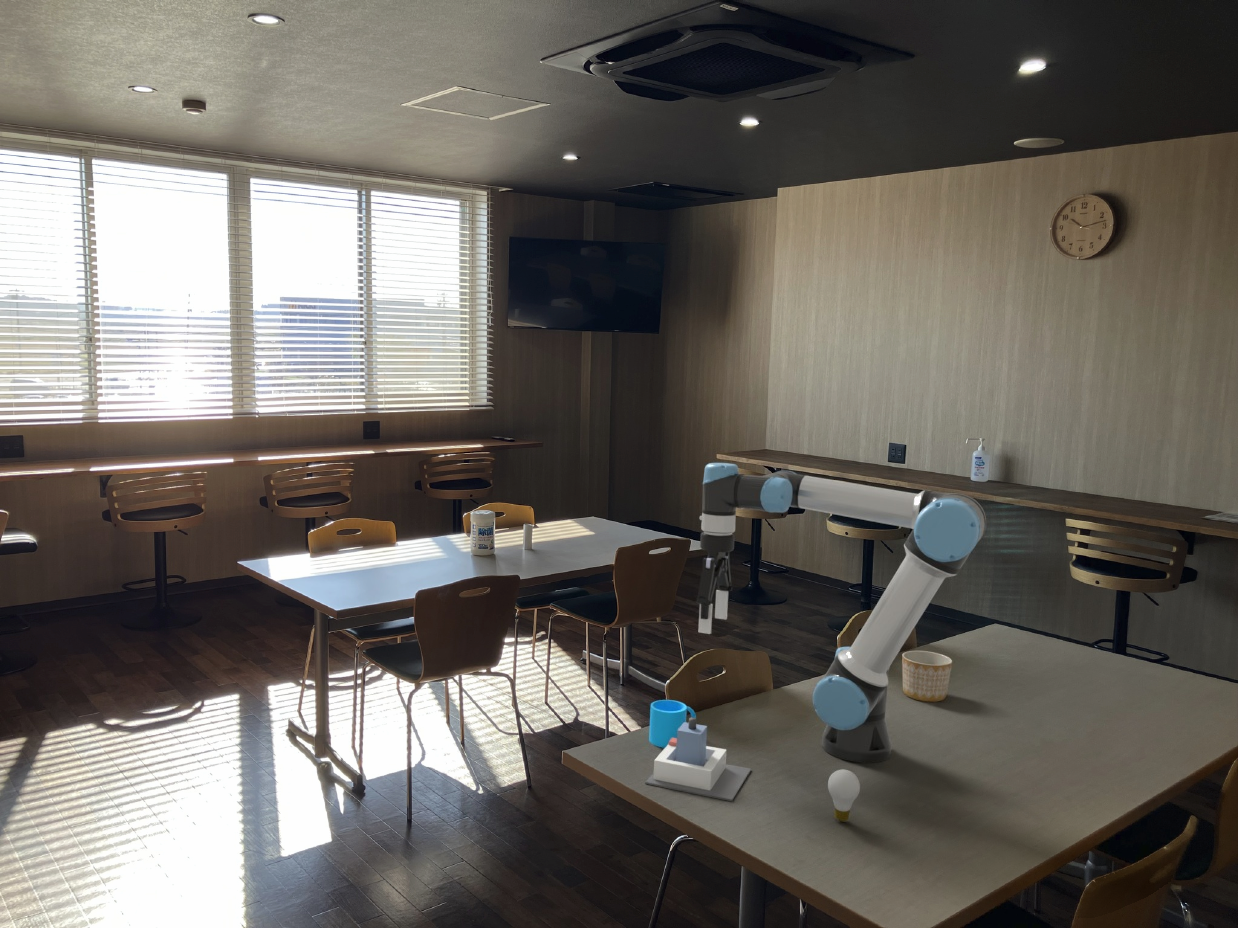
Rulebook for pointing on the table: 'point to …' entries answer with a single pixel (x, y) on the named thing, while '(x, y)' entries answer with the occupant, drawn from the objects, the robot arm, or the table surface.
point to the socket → (698, 774)
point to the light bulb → (843, 792)
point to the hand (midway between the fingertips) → (713, 625)
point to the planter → (926, 675)
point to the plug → (691, 743)
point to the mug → (666, 720)
